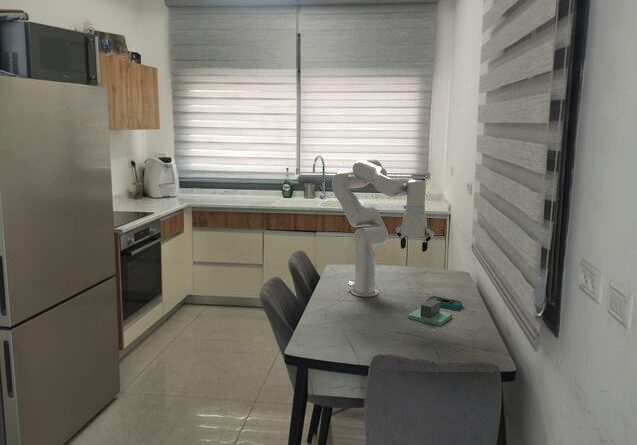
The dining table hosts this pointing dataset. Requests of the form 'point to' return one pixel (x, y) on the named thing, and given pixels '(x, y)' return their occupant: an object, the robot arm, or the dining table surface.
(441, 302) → the digital multimeter
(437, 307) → the block
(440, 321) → the board
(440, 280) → the dining table surface
